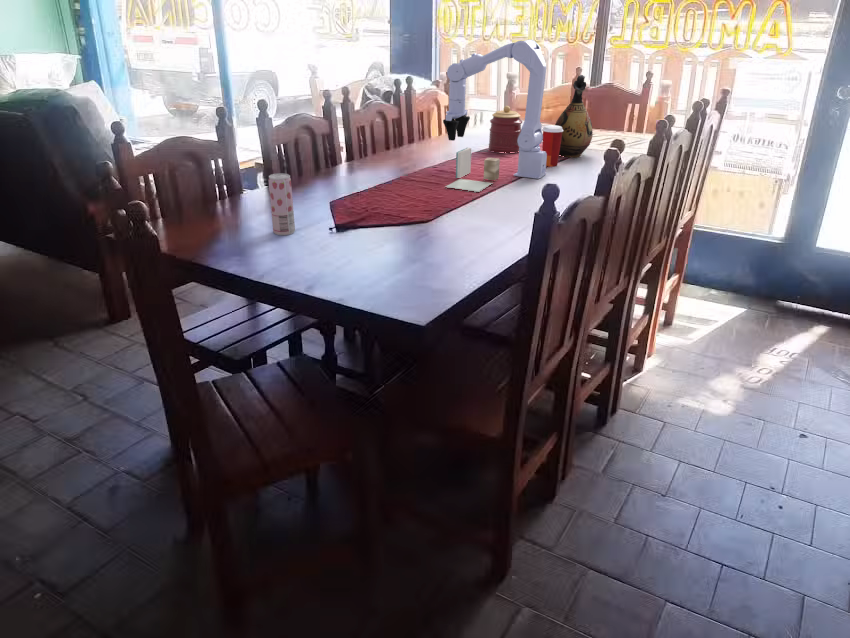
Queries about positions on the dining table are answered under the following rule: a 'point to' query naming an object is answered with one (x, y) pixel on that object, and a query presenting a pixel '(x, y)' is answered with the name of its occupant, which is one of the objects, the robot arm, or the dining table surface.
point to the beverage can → (281, 204)
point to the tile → (463, 162)
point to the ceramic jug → (575, 124)
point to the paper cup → (552, 143)
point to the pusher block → (491, 168)
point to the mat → (469, 185)
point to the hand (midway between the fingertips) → (456, 138)
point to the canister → (505, 131)
